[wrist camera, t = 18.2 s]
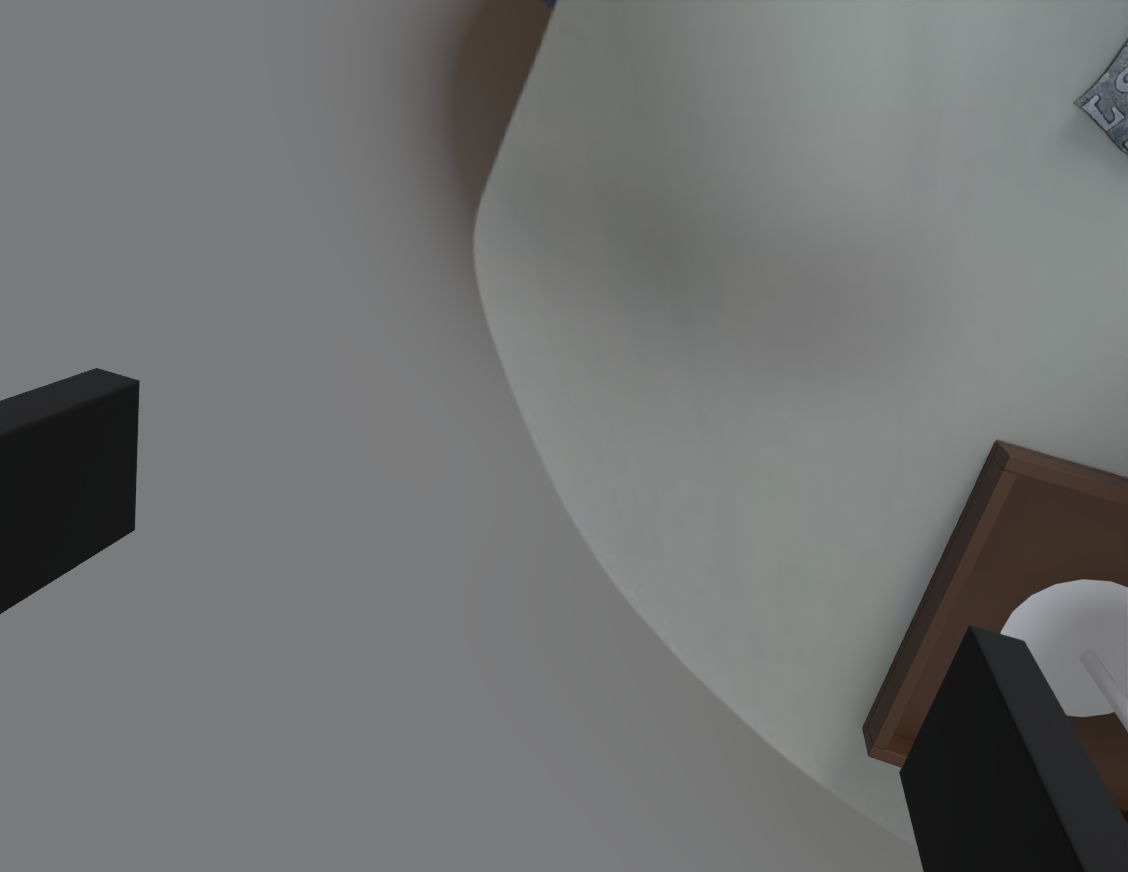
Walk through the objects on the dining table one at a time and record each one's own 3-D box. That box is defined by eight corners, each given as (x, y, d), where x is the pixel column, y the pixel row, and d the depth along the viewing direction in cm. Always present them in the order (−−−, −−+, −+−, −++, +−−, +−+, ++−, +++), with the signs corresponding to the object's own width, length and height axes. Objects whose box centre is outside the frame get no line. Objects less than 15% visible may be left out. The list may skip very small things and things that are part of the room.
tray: (996, 439, 44) (1010, 455, 42) (1344, 542, 42) (1381, 564, 40) (862, 728, 51) (867, 756, 49) (1157, 828, 49) (1178, 863, 47)
